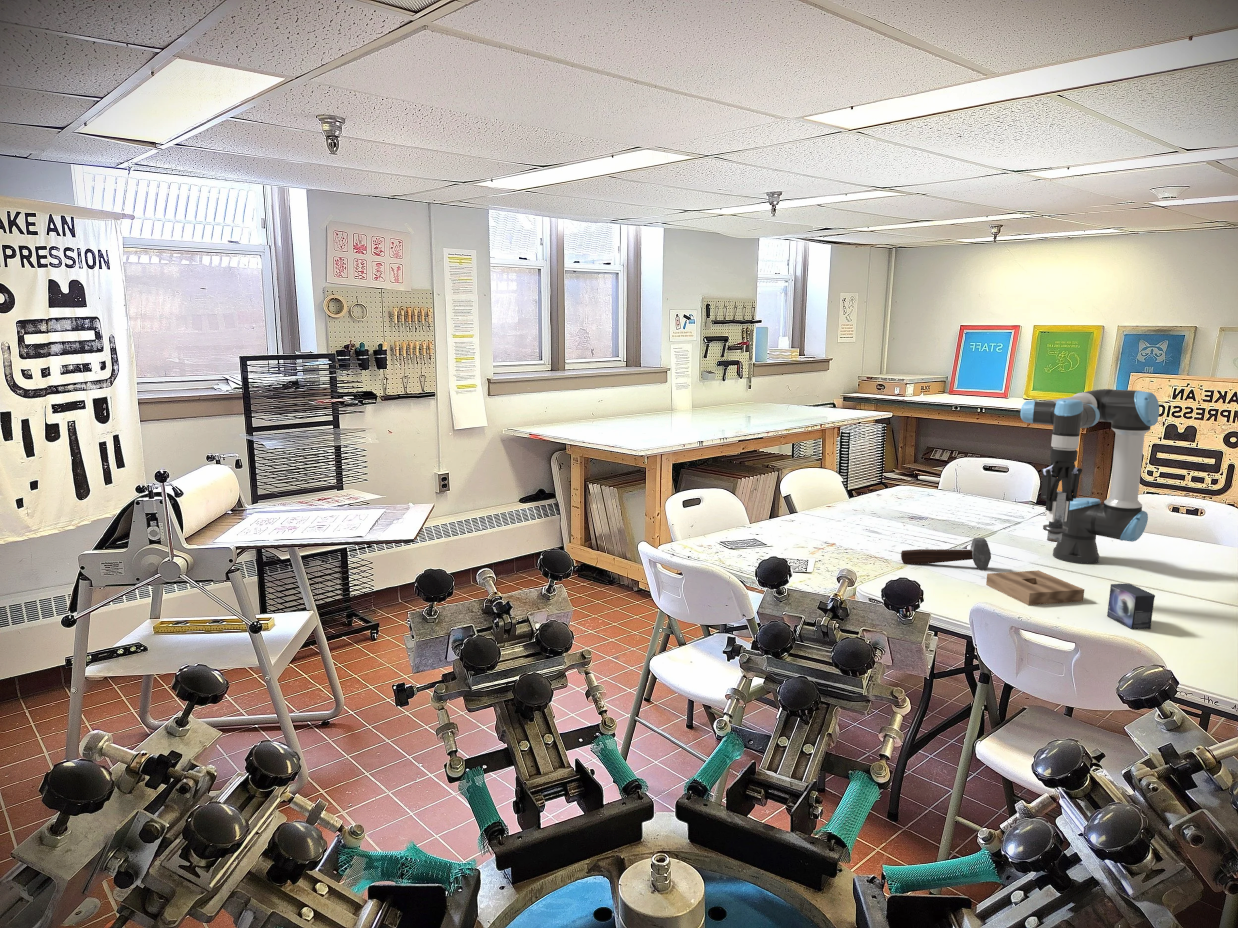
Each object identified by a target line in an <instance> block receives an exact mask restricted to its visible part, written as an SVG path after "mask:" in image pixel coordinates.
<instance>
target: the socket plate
mask: <svg viewBox="0 0 1238 928" xmlns="http://www.w3.org/2000/svg"><path fill="white" fill-rule="evenodd" d="M985 585H986V586H987V587H989V588H992V589H994V590H996V591H997V592H1000V593H1003V594H1004V595H1006V596H1007V597H1011V599H1012V598H1013V599H1014V600H1017V601H1019V602H1020V603H1023V604H1024V605H1027V606H1037V605H1038V606H1040V605H1041V606H1042V605H1052V604H1053V605H1054V604H1064V603H1065V604H1067V603H1080V602H1081V603H1082V602H1084V598H1085V596H1084V595H1085V589H1084V588H1082V587H1079V586H1077V585H1075V584H1072V583H1070V582H1068V581H1066V580H1063V579H1061V578H1058V577H1055V576H1053V575H1051V574H1048V573H1046V572H1044V571H1041V570H1039V569H1038V570H1027V571H1026V570H1025V571H1024V570H1022V571H1008V572H1006V571H1005V572H990V573H989V572H988V573H986V583H985Z"/></svg>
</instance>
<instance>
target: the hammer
mask: <svg viewBox="0 0 1238 928" xmlns="http://www.w3.org/2000/svg"><path fill="white" fill-rule="evenodd" d="M900 558H901V561H902V563H903V565H911V566H912V565H928V564H939V563H949V562H959V561H960V562H961V561H968V560H969V561H970V560H971V561H973V563H974V566H975V567H976V568H977V569H978V570H979V571H986V570H987V569H988V568H989V564H990V561H991V559H992V553H991V550H990V547H989V543H988V541H987V539H986V538H985V537H974V538H973V539H972V540H971V544H970V549H954V548H953V549H941V548H939V549H938V548H936V549H933V548H931V549H930V548H928V549H926V548H925V549H923V548H921V549H918V548H917V549H906V550H905V549H904V550H903V549H902V550H901V552H900Z"/></svg>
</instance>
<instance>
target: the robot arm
mask: <svg viewBox="0 0 1238 928" xmlns="http://www.w3.org/2000/svg"><path fill="white" fill-rule="evenodd" d="M1159 417H1160V404H1159V400H1158V398H1157V396H1156V395H1155V394H1154V393H1153V392H1151V391H1144V390H1133V389H1131V390H1130V389H1110V388H1102V389H1094V390H1093V389H1092V390H1087V391H1082V392H1077V393H1075V394H1074V395H1072V396H1068V397H1062V398H1061V397H1060V398H1056V399H1049V400H1041V401H1040V400H1039V401H1038V400H1026V401H1024V402H1023V403H1022V405H1021V408H1020V418H1021V420H1022V421H1023V422H1024V423H1028V424H1032V425H1033V424H1037V425H1046V426H1047V425H1048V426H1052V434H1051V441H1050V443H1051V444H1050V446H1051V448H1050V452H1049V460H1050V463H1049V465H1048V467H1046V468H1044V467H1043V468H1041V475H1042V479H1041V491H1040V499H1042V500H1044V501H1046V502H1045V511H1046V515H1045V521H1048V522H1049V521H1051V522H1054V519H1055V510H1056V502H1055V501H1054V500H1055V496H1056V493H1057V491H1058V488H1059V485H1060V482H1061V491H1063V492H1067V495H1066V504H1065V513H1064V521H1063V526H1064V527H1067V528H1068V532H1067V533H1062V539H1061V542H1056V545H1055V547H1053V549H1052V550H1053V551H1052V556H1053V557H1054V558H1056V559H1058V560H1062V561H1065V562H1068V563H1069V562H1070V563H1076V564H1083V565H1084V564H1087V565H1088V564H1090V565H1091V564H1097V563H1099V561H1100V553H1099V552H1098V551H1099V550H1098V545H1097V536H1098V537H1104V538H1109V539H1114V540H1119V541H1125V542H1136V541H1138V540H1139V539H1140V538H1141V537H1142V536H1143V534H1144V533H1145V530H1146V528H1147V525H1148V522H1149V521H1148V520H1149V516H1148V515H1149V514H1148V512H1147V511H1145V510H1143V504H1142V503H1141V502H1140V500H1139V492H1140V491H1139V490H1140V484H1141V483H1140V482H1141V481H1140V479H1141V471H1142V462H1143V452H1144V443H1145V435H1146V434H1147V433H1148V432H1150V431H1151V428H1152V427H1153V426H1155V425H1156V424H1157V423H1158V420H1159ZM1098 421H1100V422H1105V423H1106V422H1107V423H1111V427H1110V429H1111V430H1112V431H1114V434H1115V437H1114V446H1113V447H1114V448H1113V458H1112V468H1111V477H1110V478H1111V479H1110V489H1109V497H1107V498H1106V499H1105V500H1104V502H1103V504H1102V501H1101V500H1100V499H1099V498H1094V497H1077V496H1078V491H1079V483H1080V477H1081V474H1082V473H1083V468H1081V467H1077V466H1076V464H1075V462H1077V461H1078V452H1079V451H1078V450H1077V449H1079V444H1080V435H1081V429H1087V428H1090V427H1093V426H1095V425H1096V424H1097V423H1098Z"/></svg>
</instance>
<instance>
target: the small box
mask: <svg viewBox="0 0 1238 928" xmlns="http://www.w3.org/2000/svg"><path fill="white" fill-rule="evenodd" d="M1155 597H1156V595H1155V594H1154V593H1151V592H1149V591H1147V590H1145V589H1143V588H1140V587H1138V586H1136V585H1134V584H1131V583H1127V582H1126V583H1110V589H1109V599H1108V605H1107V606H1108V607H1107V612H1106V613H1107V615H1106V617H1107V618H1110V620H1113V621H1115V622H1117V623H1119V624H1121V625H1123V626H1125V627H1127V628H1128V629H1130V630H1150V629H1152V620H1153V619H1152V618H1153V611H1154V604H1155Z"/></svg>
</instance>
